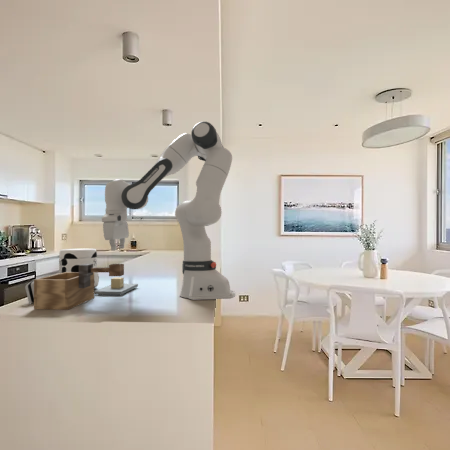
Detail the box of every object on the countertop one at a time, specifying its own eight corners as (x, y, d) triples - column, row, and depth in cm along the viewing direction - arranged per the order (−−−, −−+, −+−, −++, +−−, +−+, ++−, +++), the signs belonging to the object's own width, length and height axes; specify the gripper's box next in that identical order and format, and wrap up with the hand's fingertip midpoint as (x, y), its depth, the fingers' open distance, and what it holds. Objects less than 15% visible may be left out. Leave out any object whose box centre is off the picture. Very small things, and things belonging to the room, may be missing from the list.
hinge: (41, 304, 128) (32, 278, 128) (30, 308, 128) (21, 282, 129) (66, 295, 145) (58, 272, 145) (55, 299, 145) (47, 276, 145)
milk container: (106, 287, 163) (106, 248, 163) (82, 294, 147) (82, 251, 147) (75, 285, 168) (75, 248, 168) (47, 292, 151) (47, 250, 151)
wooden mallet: (123, 274, 130) (123, 263, 130) (119, 276, 126) (119, 265, 126) (95, 274, 131) (94, 263, 131) (90, 276, 127) (90, 264, 127)
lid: (137, 288, 162) (137, 275, 162) (121, 297, 143) (121, 281, 143) (113, 288, 163) (113, 274, 163) (94, 296, 144) (94, 281, 144)
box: (101, 297, 139) (101, 261, 139) (76, 309, 119) (76, 267, 119) (64, 297, 140) (64, 261, 140) (33, 309, 120) (33, 267, 120)
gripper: (118, 217, 163) (119, 247, 163) (99, 217, 143) (101, 251, 143) (131, 217, 163) (132, 247, 163) (115, 217, 142) (116, 251, 142)
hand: (117, 249), depth 153 cm, fingers open, 8 cm apart
